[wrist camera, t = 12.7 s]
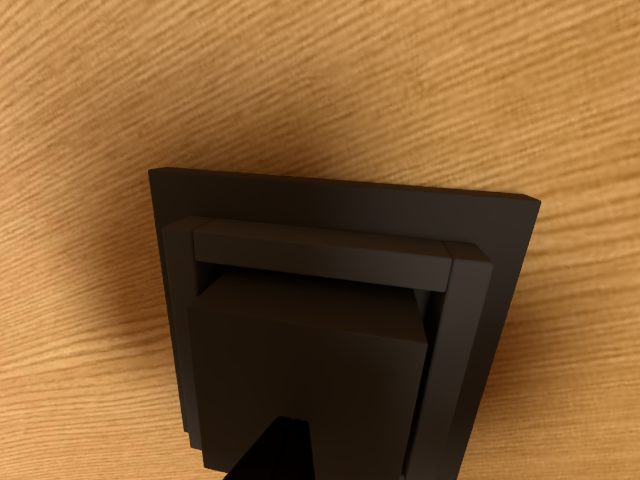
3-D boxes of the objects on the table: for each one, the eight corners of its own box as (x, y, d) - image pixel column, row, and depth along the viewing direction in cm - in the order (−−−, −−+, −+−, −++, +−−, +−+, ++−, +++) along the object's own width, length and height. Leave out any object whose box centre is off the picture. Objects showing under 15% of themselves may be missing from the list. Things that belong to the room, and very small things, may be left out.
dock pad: (448, 466, 13) (464, 537, 11) (195, 413, 15) (162, 465, 12) (525, 194, 9) (578, 213, 7) (166, 166, 11) (109, 174, 8)
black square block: (388, 421, 11) (392, 513, 9) (242, 393, 12) (203, 468, 10) (412, 283, 9) (428, 344, 7) (236, 261, 10) (185, 307, 8)
